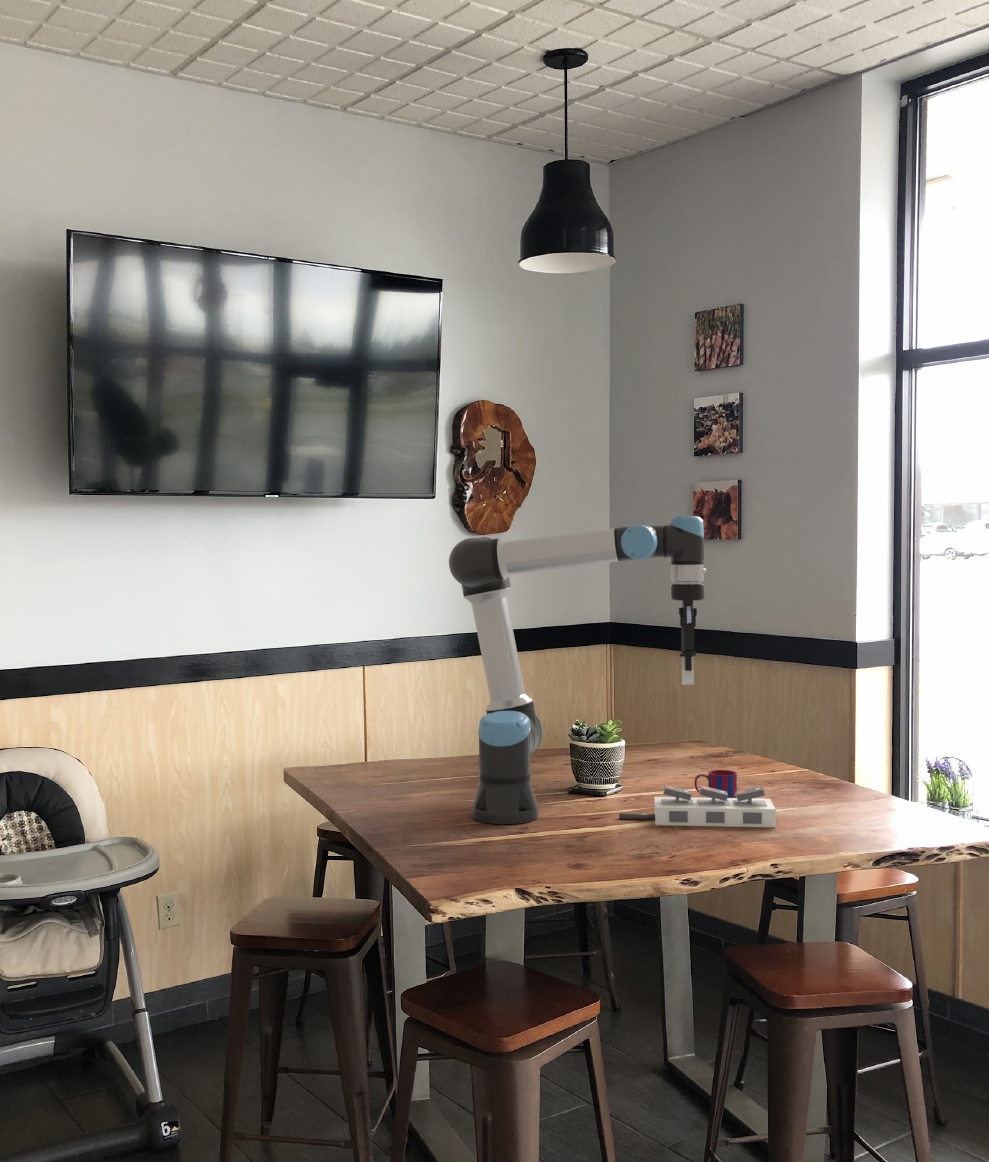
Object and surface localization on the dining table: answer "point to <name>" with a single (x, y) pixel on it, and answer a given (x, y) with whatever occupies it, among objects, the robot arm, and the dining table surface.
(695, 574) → the robot arm
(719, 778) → the mug
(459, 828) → the dining table surface
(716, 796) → the rocker mid
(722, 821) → the strip
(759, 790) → the rocker right
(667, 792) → the rocker left
